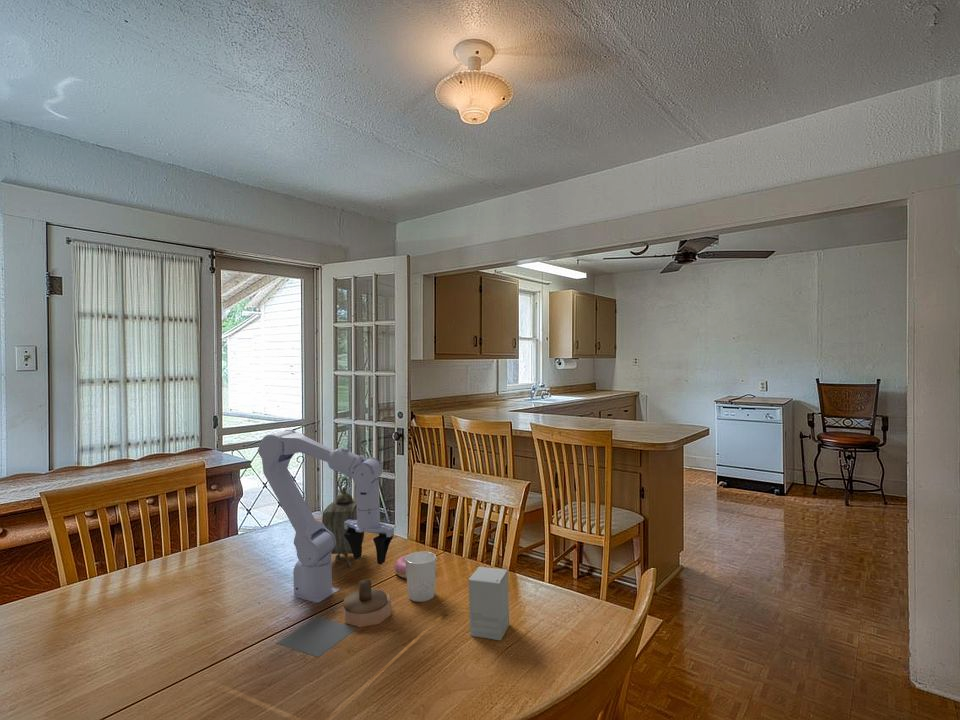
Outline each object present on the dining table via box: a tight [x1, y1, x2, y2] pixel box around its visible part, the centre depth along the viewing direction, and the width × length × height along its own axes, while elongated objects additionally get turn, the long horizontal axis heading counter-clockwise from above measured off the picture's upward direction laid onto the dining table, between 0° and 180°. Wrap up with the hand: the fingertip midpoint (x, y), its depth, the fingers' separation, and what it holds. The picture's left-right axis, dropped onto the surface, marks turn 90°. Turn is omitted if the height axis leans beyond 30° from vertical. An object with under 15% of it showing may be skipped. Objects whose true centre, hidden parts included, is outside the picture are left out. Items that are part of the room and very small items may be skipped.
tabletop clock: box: [321, 477, 365, 568], centre depth 153 cm, size 14×9×25 cm, turn 179°
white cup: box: [405, 550, 437, 603], centre depth 129 cm, size 8×8×10 cm
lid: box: [343, 578, 387, 614], centre depth 119 cm, size 10×10×5 cm
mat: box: [276, 616, 358, 658], centre depth 111 cm, size 12×12×1 cm
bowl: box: [343, 592, 392, 628], centre depth 119 cm, size 11×11×4 cm
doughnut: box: [393, 553, 410, 579], centre depth 144 cm, size 11×11×4 cm
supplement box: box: [468, 566, 510, 642], centre depth 112 cm, size 7×7×13 cm
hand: (369, 560), depth 128 cm, fingers open, 7 cm apart
